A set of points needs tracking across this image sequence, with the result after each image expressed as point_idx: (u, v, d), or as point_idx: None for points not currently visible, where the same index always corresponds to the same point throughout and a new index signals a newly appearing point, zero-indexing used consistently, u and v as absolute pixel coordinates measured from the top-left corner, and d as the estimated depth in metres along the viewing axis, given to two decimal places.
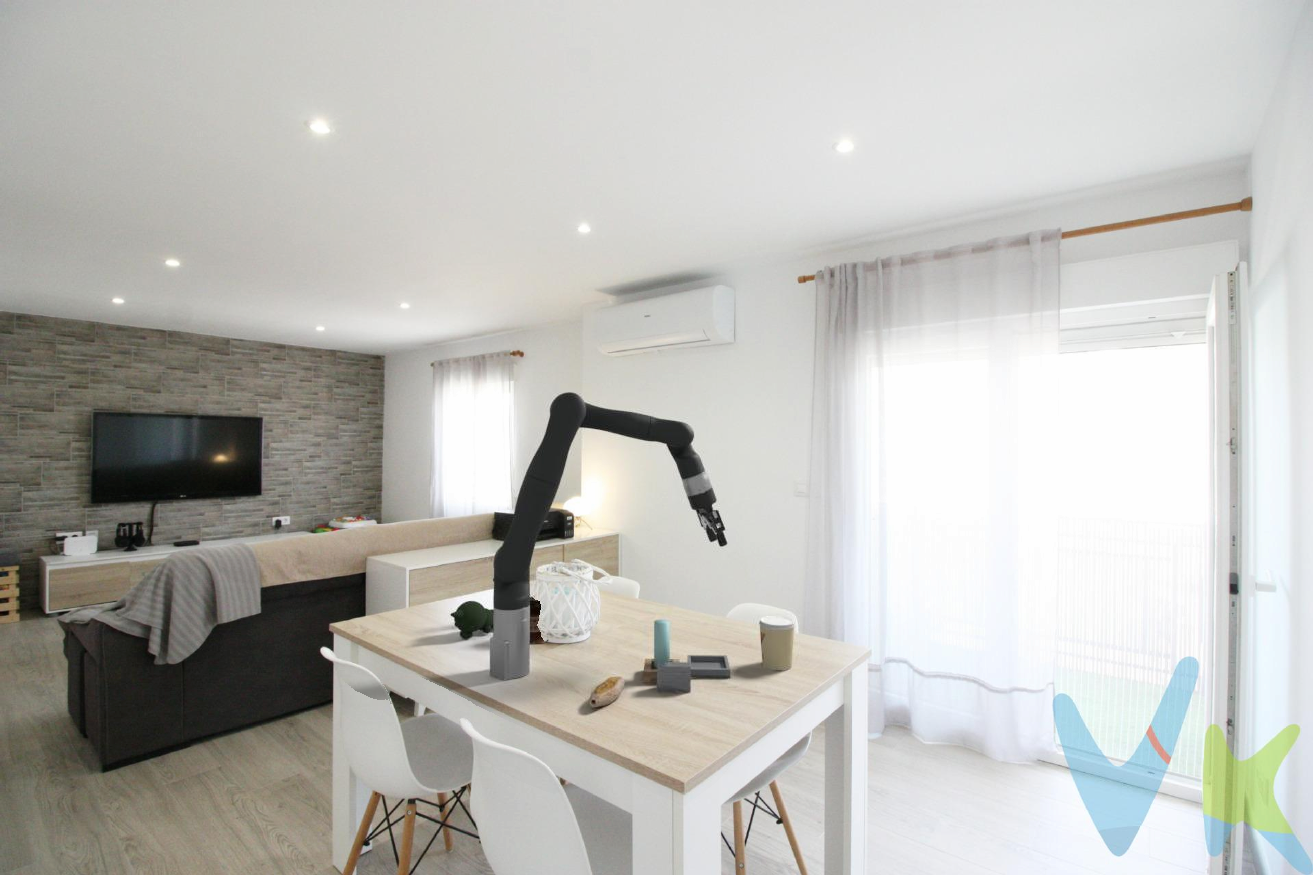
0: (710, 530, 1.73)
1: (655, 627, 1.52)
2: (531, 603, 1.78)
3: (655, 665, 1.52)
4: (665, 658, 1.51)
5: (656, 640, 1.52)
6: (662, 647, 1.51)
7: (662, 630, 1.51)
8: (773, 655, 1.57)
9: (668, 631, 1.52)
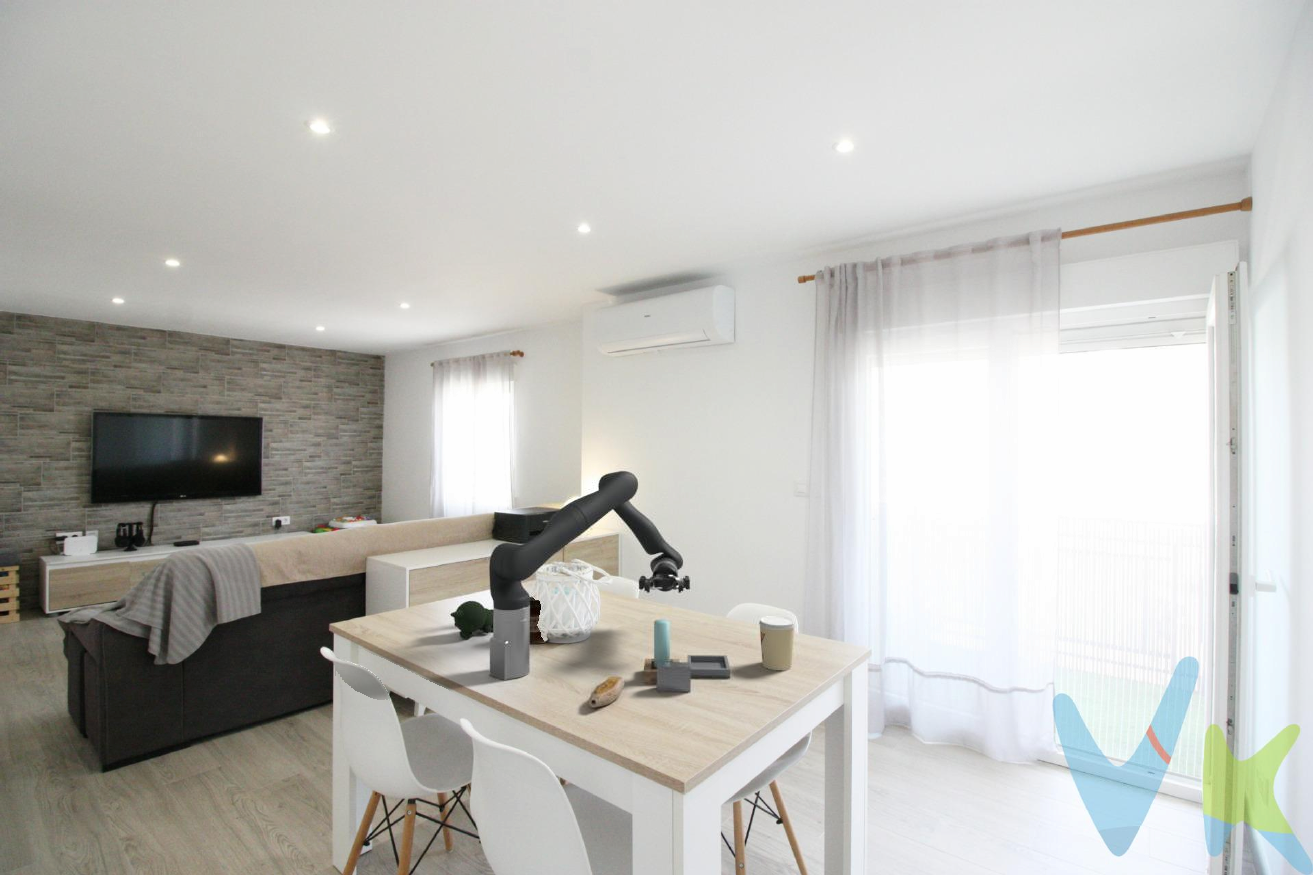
0: None
1: (655, 627, 1.52)
2: (531, 603, 1.78)
3: (655, 665, 1.52)
4: (665, 658, 1.51)
5: (656, 640, 1.52)
6: (662, 647, 1.51)
7: (662, 630, 1.51)
8: (773, 655, 1.57)
9: (668, 631, 1.52)
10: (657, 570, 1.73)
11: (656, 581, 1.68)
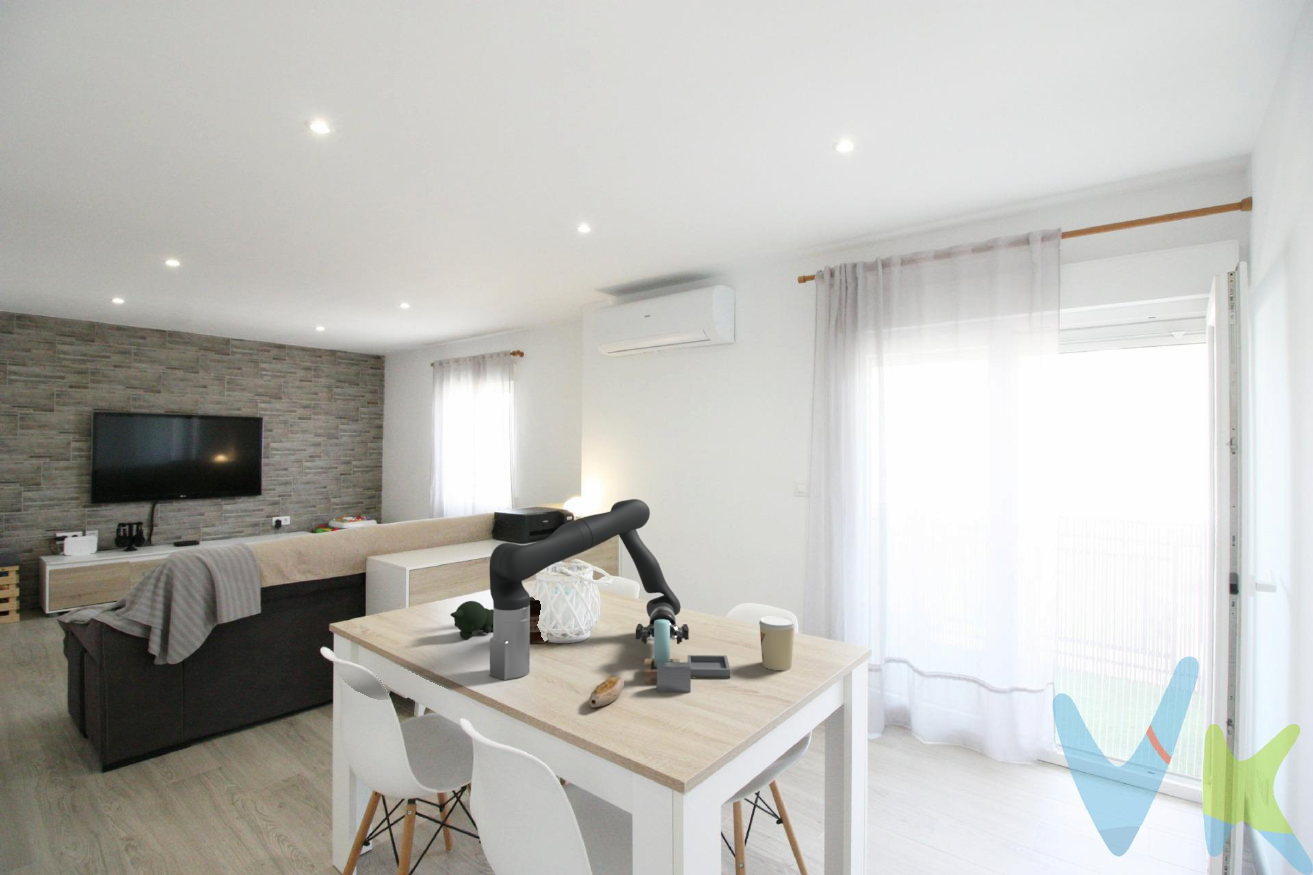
0: None
1: (655, 627, 1.52)
2: (531, 603, 1.78)
3: (655, 665, 1.52)
4: (665, 658, 1.51)
5: (656, 640, 1.52)
6: (662, 647, 1.51)
7: (662, 630, 1.51)
8: (773, 655, 1.57)
9: (668, 631, 1.52)
10: (654, 618, 1.67)
11: (653, 630, 1.62)
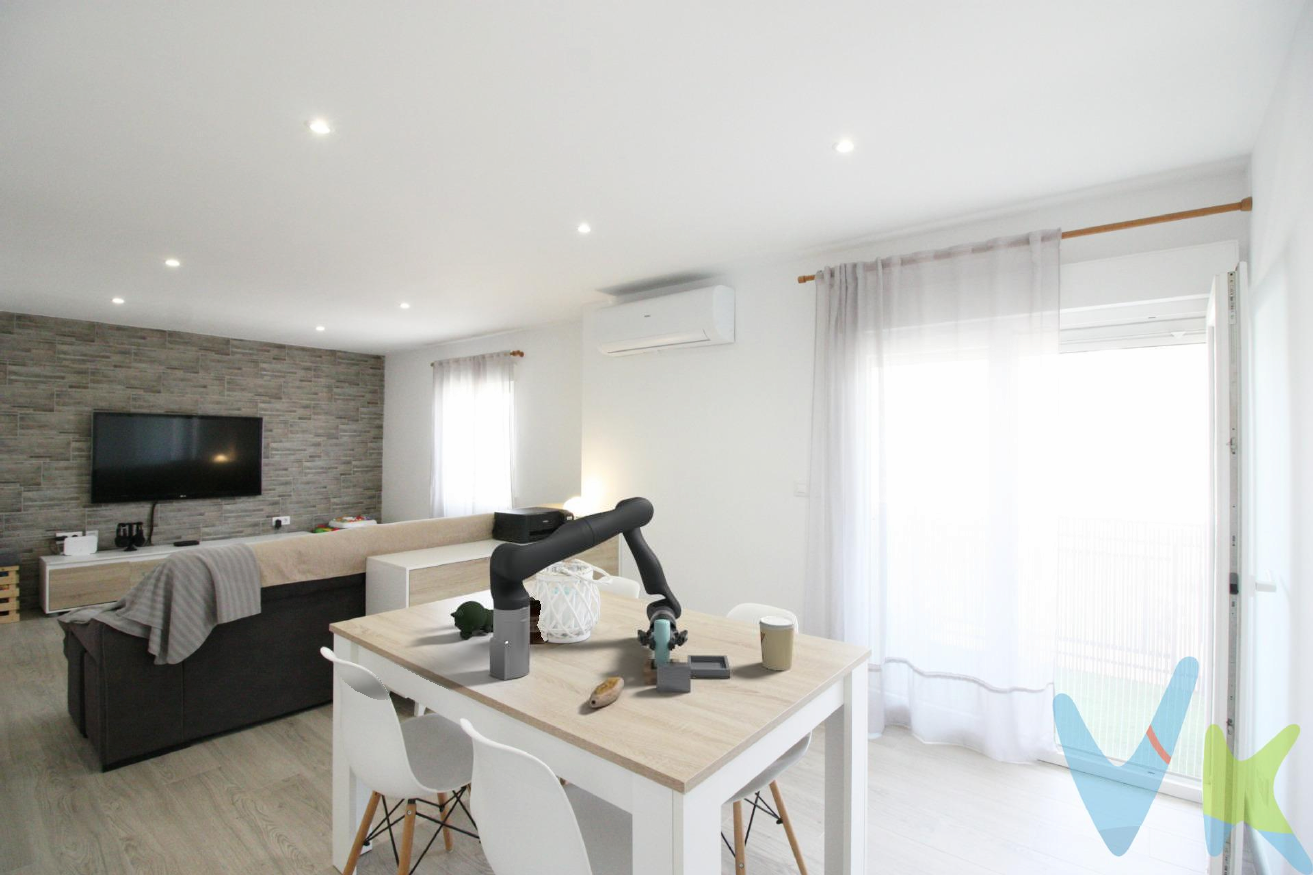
0: None
1: (655, 627, 1.52)
2: (531, 603, 1.78)
3: (655, 665, 1.52)
4: (665, 658, 1.51)
5: (656, 640, 1.52)
6: (662, 647, 1.51)
7: (662, 630, 1.51)
8: (773, 655, 1.57)
9: (668, 631, 1.52)
10: None
11: None
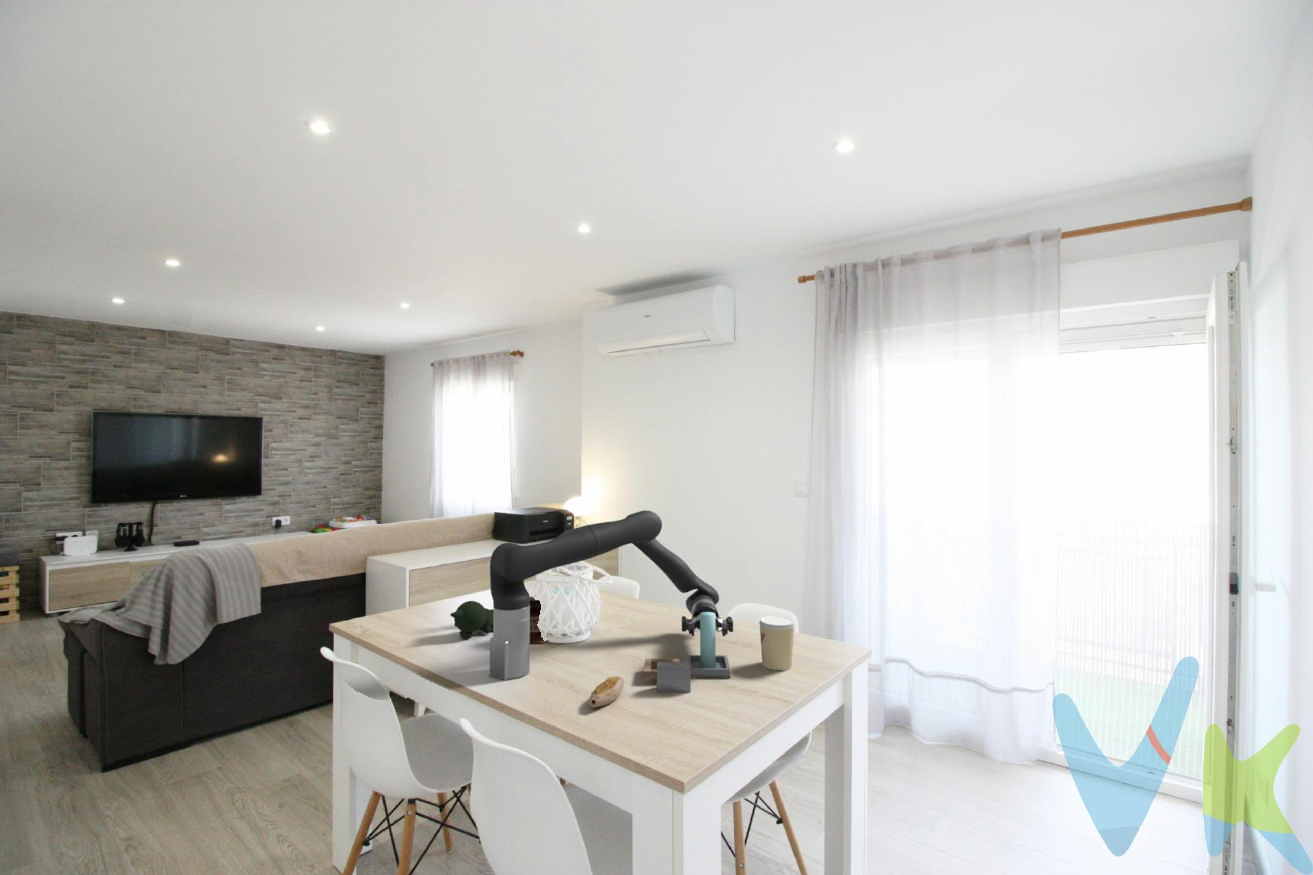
0: None
1: (701, 619, 1.57)
2: (531, 603, 1.78)
3: (701, 656, 1.57)
4: (711, 649, 1.56)
5: (702, 631, 1.56)
6: (709, 638, 1.56)
7: (709, 622, 1.56)
8: (773, 655, 1.57)
9: (714, 623, 1.57)
10: (698, 610, 1.67)
11: (698, 622, 1.62)
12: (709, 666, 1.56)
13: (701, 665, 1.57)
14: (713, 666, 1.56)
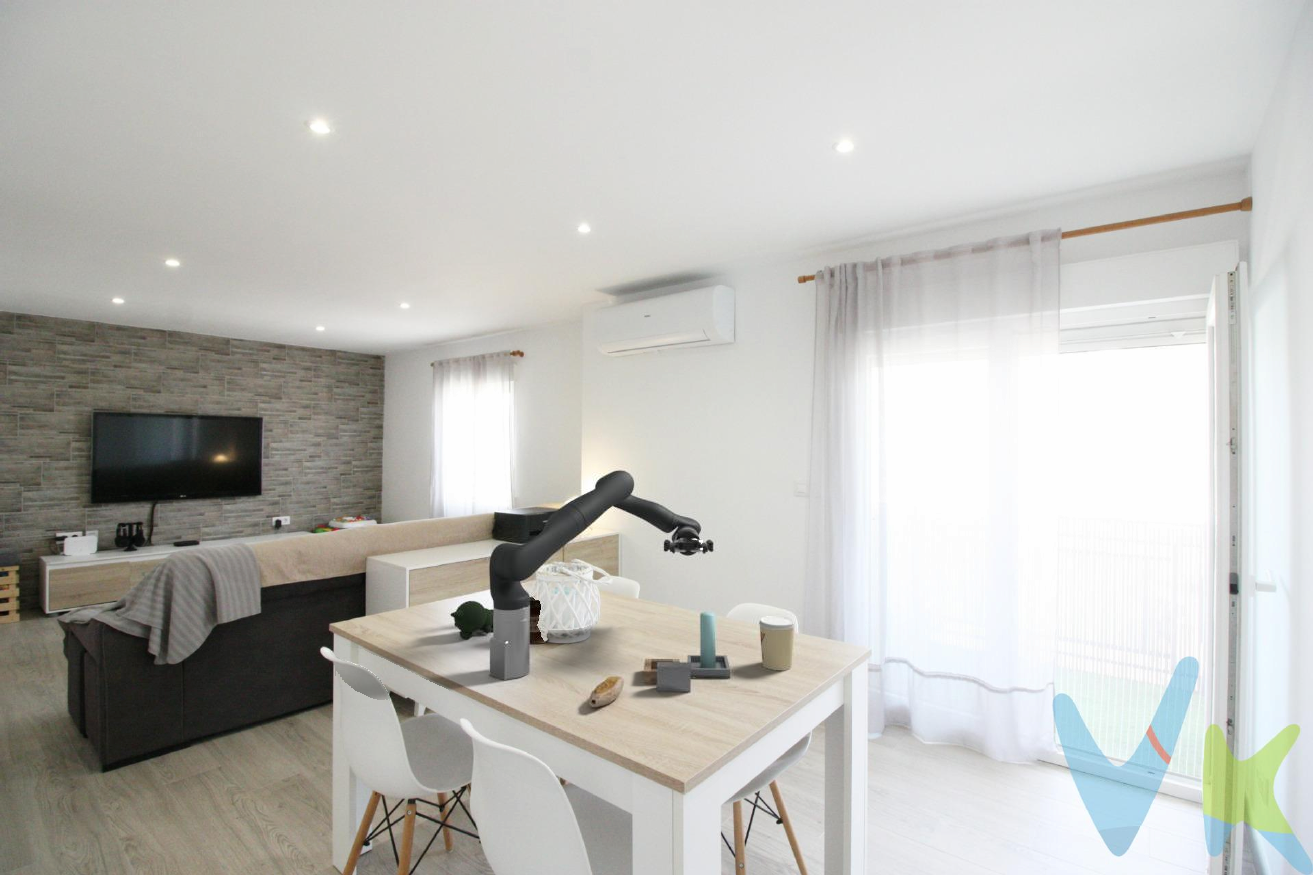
0: None
1: (701, 619, 1.57)
2: (531, 603, 1.78)
3: (701, 656, 1.57)
4: (711, 649, 1.56)
5: (702, 632, 1.56)
6: (709, 638, 1.56)
7: (709, 622, 1.56)
8: (773, 655, 1.57)
9: (714, 623, 1.57)
10: (680, 535, 1.79)
11: (680, 544, 1.74)
12: (709, 666, 1.56)
13: (701, 665, 1.57)
14: (713, 666, 1.56)
